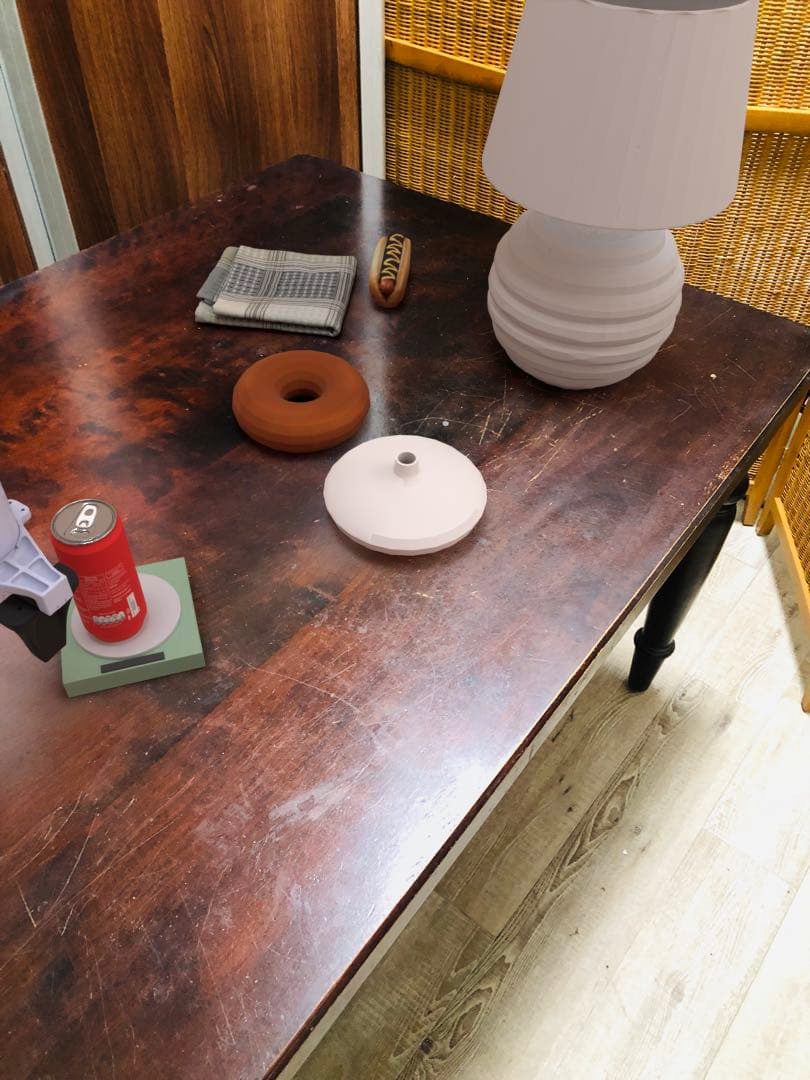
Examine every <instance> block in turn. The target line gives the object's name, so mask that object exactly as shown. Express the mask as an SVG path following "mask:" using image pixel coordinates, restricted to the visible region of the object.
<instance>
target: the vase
mask: <svg viewBox="0 0 810 1080" xmlns="http://www.w3.org/2000/svg"><path fill="white" fill-rule="evenodd" d="M487 491H488V489H487V484H486V482H485V480H484V478H483V475H482V473H481V471H480V470H479V469H478V467H476V465H475V464H474V463H473V462H472V460H470V458H469V457H467V456H466V455H465V454H463V453H462V452H460V451H458V450H457V449H456V448H455V447H453V446H451V445H449V444H446V443H444V442H443V441H439V440H437V439H434V438H429V437H425V436H420V435H409V434H408V435H405V434H396V435H395V434H394V435H388V436H381V437H376V438H373V439H370V440H368V441H365V442H362V443H361V444H358V445H357V446H355V447H353V448H351V449H350V450H347V452H345V453H344V454H343V455H342V456H341V457H340V458H339V459H338V460H336V462H335V463H333V465H332V466H331V468H330V470H329V471H328V473H327V475H326V477H325V479H324V486H323V498H324V502H325V507H326V510H327V512H328V514H329V515H330V517H331V519H332V520H333V522H334V523H335V524H336V526H337V528H338V529H339V531H340V532H342V533H343V534H345V536H347V537H348V538H349V539H350V540H352V541H353V542H355V543H356V544H359V545H361V546H364V547H365V548H367V549H369V550H371V551H375V552H379V553H383V554H387V555H390V556H391V555H392V556H419V555H427V554H432V553H433V554H434V553H436V552H439V551H441V550H444V549H447V548H449V547H452V546H454V545H456V544H457V543H458V542H460V541H461V540H462V539H464V538H466V537H467V536H468V535H469V534H470V533H471V531H472V530H473V529H474V528H475V526H476V525H477V524H478V522H479V521H480V520H481V518H482V517H483V514H484V511H485V509H486V505H487V503H488V495H487V494H488V493H487Z"/></svg>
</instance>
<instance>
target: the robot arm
mask: <svg viewBox="0 0 810 1080" xmlns="http://www.w3.org/2000/svg"><path fill="white" fill-rule="evenodd" d="M31 518H32V512H31V510H30V508H29V507H28V506H27V505H26V504H24V503H21V502H20V501H18V500H16V499H8V496H7V494H6V492H5V489H4V487H3V485H2V482H1V481H0V592H3V593H8V594H9V595H8V596H7V597H5V598H4V599H3V600H2V601H1V602H0V625H1V626H3V627H5V628H6V629H8V630H10V631H12V632H14V633H15V634H16V636H18V637H19V639H20V640H21V641H22V643H24V645H25V646H26V648H27V649H28V651H29V652H30V653H31V654H32V655H33V656H34V657H36V658H37V659H38V660H40V661H41V662H43V663H49V661H50V660H51V659H53V658H54V657H55V656H56V655H57V654H58V653H59V652H61V649H62V648H63V647H64V646H65V645H66V641H67V614H68V609H69V605H70V602H71V600H72V597H73V595H74V593H75V591H76V589H77V587H78V585H79V578H78V575H77V573H76V571H75V570H73V569H72V568H70V567H68V566H66V565H64V564H63V563H61V562H59V561H57V562H56V563H55V564H54V565H52V564H51V562H50V561H49V560H48V559H47V557H46V556H45V554H44V553H43V551H42V550H41V549H40V547H39V546H38V544H37V543H36V542H35V540H34V539H33V537H32V536H31V534H30V533H29V532H28V530H27V529H26V527H25V526H24V525H25V523H27V522H28V521H29V520H30V519H31Z"/></svg>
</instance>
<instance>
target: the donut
mask: <svg viewBox="0 0 810 1080" xmlns="http://www.w3.org/2000/svg"><path fill="white" fill-rule="evenodd" d="M296 398H297V399H298V398H310V399H313V400H309V401H306V402H295V401H290V400H292V399H296ZM231 403H232V405H231V409H232V411H233V414H234V417H235V419H236V421H237V423H238V426H239V427H240V429H241V430H242V431H243V432H245V434H247V435H248V436H249V437H250V438H251V439H252V440H254V442H257V443H258V444H260V445H263V446H265V447H267V448H270V449H272V450H276V451H282V452H286V453H291V454H298V453H300V454H301V453H315V452H319V451H325V450H327V449H332V448H334V447H336V446H338V445H340V444H341V443H343V442H345V441H347V440H348V439H350V438H351V437H352V436H353V435H354V434H355V433H356V432H357V431H359V429H360V428H361V427H362V426H363V425H364V423H365V421H366V419H367V416H368V414H369V412H370V408H371V396H370V388H369V385H368V383H367V381H366V380H365V378H364V377H363V375H362V373H361V372H360V371H359V370H358V369H357V368H356V367H355V366H353V364H350V363H349V362H348V361H346V360H345V359H343V358H341V357H338V356H336V355H334V354H332V353H331V354H330V353H328V352H322V351H317V350H311V349H307V350H305V349H304V350H288V351H283V352H279V353H274V354H270V355H268V356H267V357H264V358H261V359H259V360H257V361H256V362H254V363H253V364H252V365H251V366H250V367H248V368H247V369H246V370H244V372H243V373H242V374H241V376H240V377H239V379H238V381H236V384H235V385H234V387H233V393H232V402H231Z"/></svg>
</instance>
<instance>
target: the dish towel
mask: <svg viewBox="0 0 810 1080" xmlns="http://www.w3.org/2000/svg"><path fill="white" fill-rule="evenodd" d="M357 269H358V260H357V258H356V257H355V256H353V255H323V254H321V255H320V254H307V253H301V252H295V251H288V250H274V249H273V250H271V249H261V248H253V247H251V246H246V245H240V246H239V247H236V246H228V247H226V248H225V249H224V251H223V253H222V255H221V256H220V259H219V260H218V261H217V264H216V265H215V267H214V268H213V270H212V271H211V272H210V273H209V275H208V277H207V279H206V280H205V281H204V283H203V284H202V286H201V287H200V289H199V290H198V292H197V294H196V298H197V299H200V302H199V303H198V306H197V307H196V309H195V312H194V316H195V319H194V321H195V322H196V323H205V324H213V325H214V324H215V325H219V326H220V325H221V326H233V327H241V328H256V329H265V330H266V329H267V330H278V331H284V332H289V333H290V332H291V333H301V334H307V335H319V336H328V337H336V336H338V335H339V334H340V333H341V328H342V325H343V320H344V318H345V315H346V312H347V309H348V306H349V302H350V298H351V293H352V291H353V286H354V283H355V278H356V274H357Z"/></svg>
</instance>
